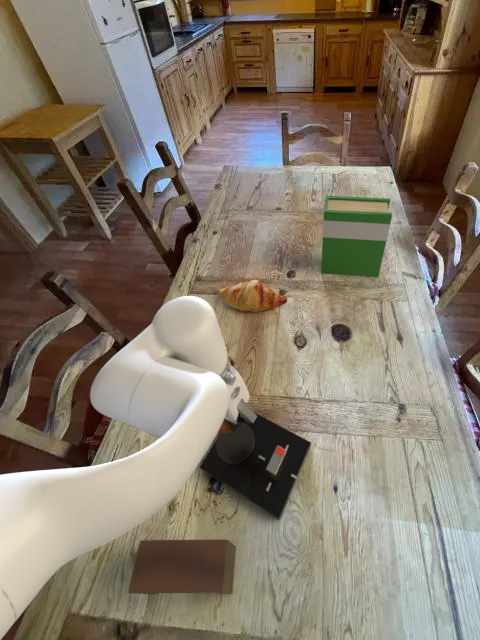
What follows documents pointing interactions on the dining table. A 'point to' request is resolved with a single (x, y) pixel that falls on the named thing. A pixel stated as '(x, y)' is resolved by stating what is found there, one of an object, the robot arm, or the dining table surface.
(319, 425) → the dining table surface
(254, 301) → the croissant
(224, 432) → the spice bottle
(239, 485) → the hob
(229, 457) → the disc
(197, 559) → the shelf
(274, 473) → the hob knob
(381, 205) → the hardback book
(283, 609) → the dining table surface
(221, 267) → the dining table surface
